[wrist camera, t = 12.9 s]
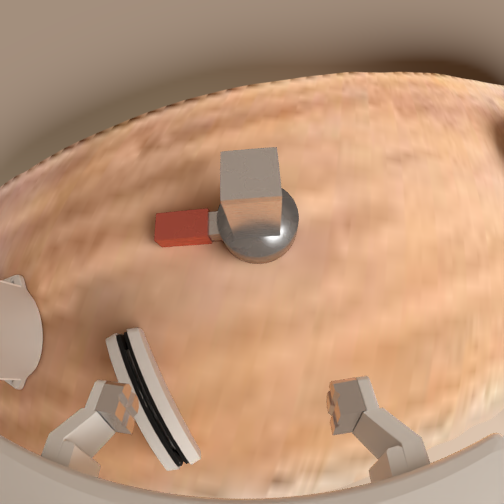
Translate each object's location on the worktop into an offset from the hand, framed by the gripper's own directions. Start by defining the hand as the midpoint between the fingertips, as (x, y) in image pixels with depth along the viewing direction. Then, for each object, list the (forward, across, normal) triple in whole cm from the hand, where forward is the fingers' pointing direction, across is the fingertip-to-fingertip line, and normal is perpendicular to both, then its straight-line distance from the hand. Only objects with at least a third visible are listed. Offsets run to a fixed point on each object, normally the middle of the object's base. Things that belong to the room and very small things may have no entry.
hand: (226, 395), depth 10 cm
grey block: (+23, -2, +2) cm, 23 cm away
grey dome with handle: (+25, +2, +4) cm, 26 cm away
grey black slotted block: (+12, +10, +18) cm, 24 cm away
